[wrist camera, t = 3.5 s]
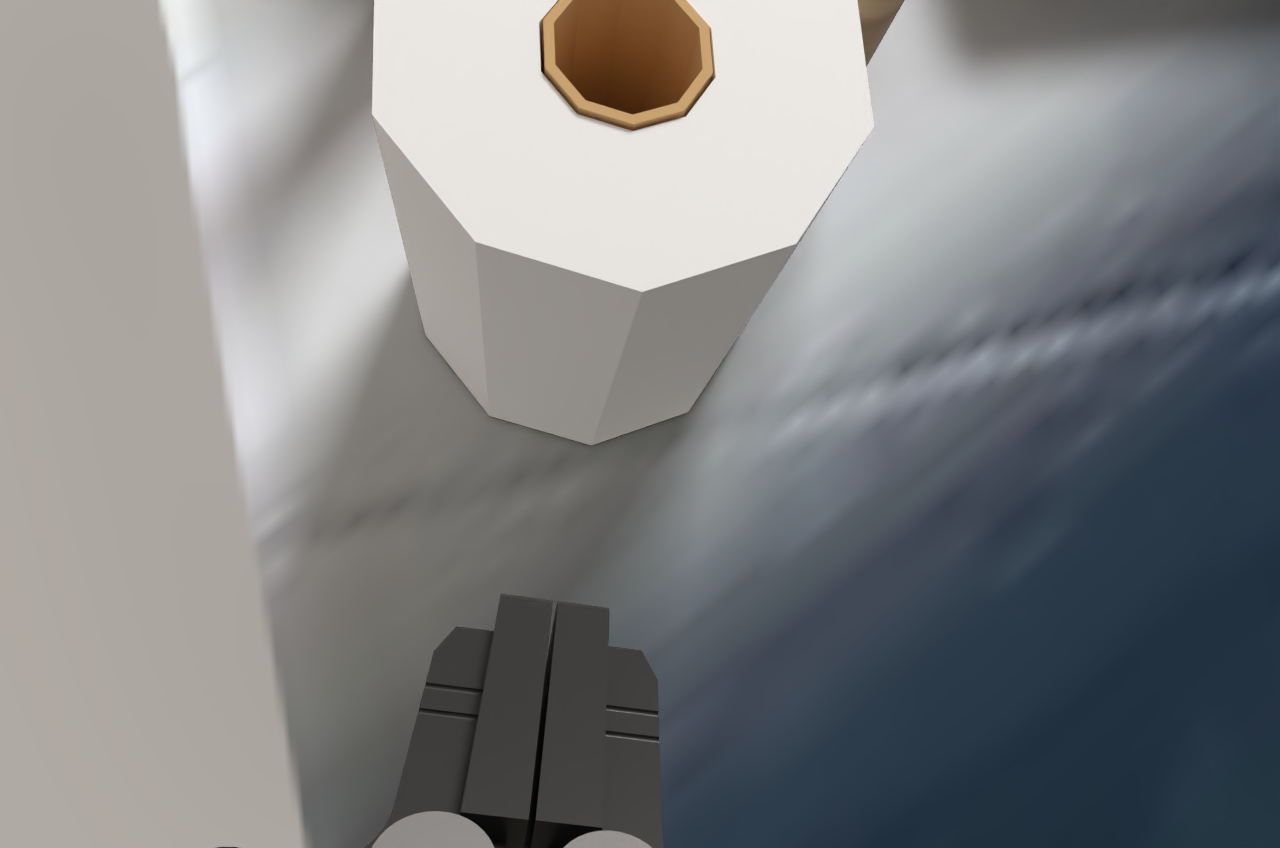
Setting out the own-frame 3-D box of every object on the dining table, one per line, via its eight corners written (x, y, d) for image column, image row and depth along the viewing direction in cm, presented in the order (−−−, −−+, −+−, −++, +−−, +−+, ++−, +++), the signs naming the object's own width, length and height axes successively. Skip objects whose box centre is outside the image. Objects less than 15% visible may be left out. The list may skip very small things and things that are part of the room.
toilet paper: (535, 507, 29) (552, 385, 17) (358, 232, 30) (264, -51, 19) (802, 341, 31) (974, 137, 20) (626, 95, 33) (689, -228, 21)
